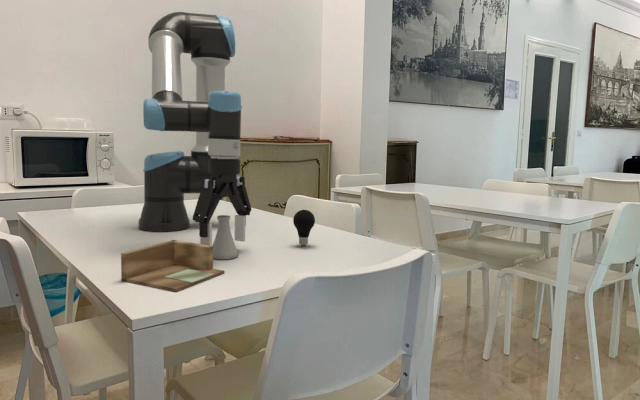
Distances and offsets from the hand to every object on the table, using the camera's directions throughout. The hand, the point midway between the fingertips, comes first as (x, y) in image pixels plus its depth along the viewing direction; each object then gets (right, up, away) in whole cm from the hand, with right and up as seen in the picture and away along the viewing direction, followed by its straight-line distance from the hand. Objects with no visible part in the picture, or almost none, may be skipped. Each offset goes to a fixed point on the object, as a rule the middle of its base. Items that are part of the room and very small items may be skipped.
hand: (223, 245), depth 122 cm
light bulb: (+19, -2, +15) cm, 24 cm away
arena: (-7, -5, -18) cm, 20 cm away
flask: (0, -3, +1) cm, 3 cm away
